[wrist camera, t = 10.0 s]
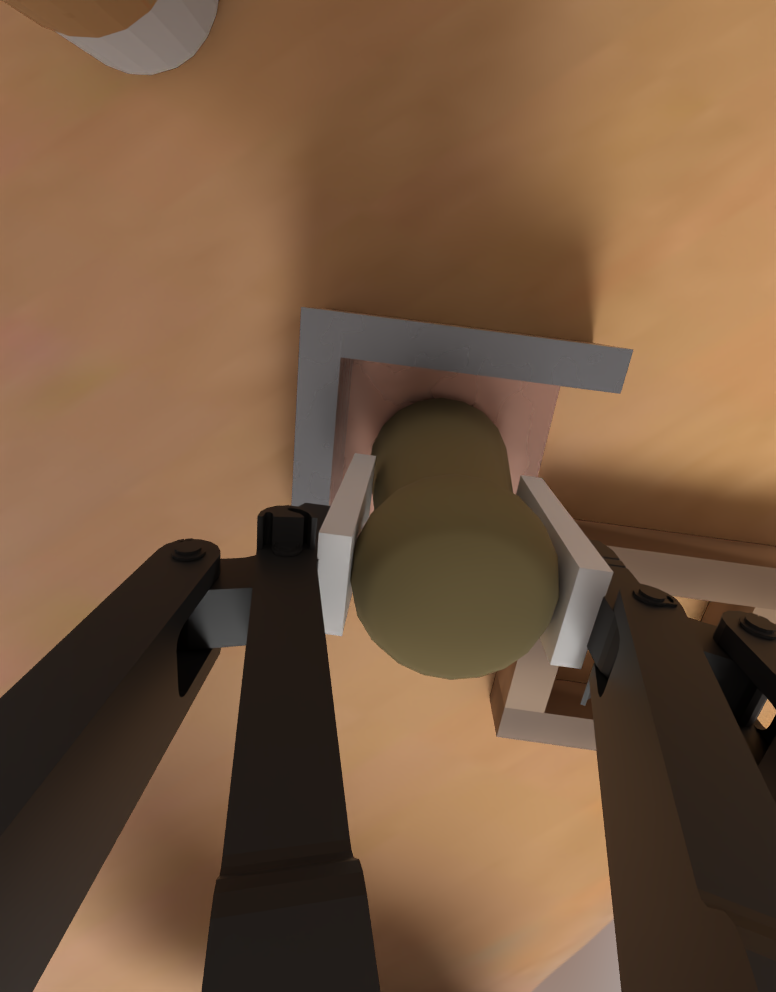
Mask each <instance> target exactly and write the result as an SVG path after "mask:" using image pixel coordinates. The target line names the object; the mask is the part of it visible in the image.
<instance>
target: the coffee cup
mask: <svg viewBox="0 0 776 992" xmlns="http://www.w3.org/2000/svg"><path fill="white" fill-rule="evenodd" d="M2 1H4V2H5V3H7V4H8V5H10V6H11V7H13V8H14V9H16V10H17V11H19V12H20V13H22V14H24V15H25V16H27V17H28V18H30V19H31V20H33V21H34V22H36V23H37V24H39V25H41V26H42V27H45V28H48V29H51V30H53V31H55V32H57V33H58V34H60V35H61V36H63V37H64V38H66V39H67V40H69V41H70V42H72V43H73V44H75V45H76V46H78V47H79V48H81V49H82V50H84V51H85V52H87V53H88V54H90V55H91V56H93V57H94V58H96V59H97V60H99V61H100V62H102V63H104V64H105V65H107V66H110V67H112V68H115V69H117V70H120V71H123V72H125V73H128V74H141V75H153V74H157V73H160V72H164V71H167V70H170V69H174V68H177V67H179V66H180V65H181V64H183V63H184V62H185V61H187V60H188V59H190V58H191V57H192V56H194V55H195V53H196V52H197V51H198V49H199V48H200V46H201V45H202V44H203V42H204V41H205V40H206V38H207V37H208V34H209V32H210V29H211V27H212V24H213V22H214V19H215V17H216V14H217V7H218V1H219V0H2Z"/></svg>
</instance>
